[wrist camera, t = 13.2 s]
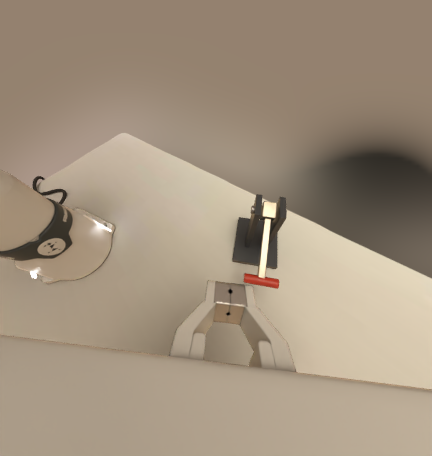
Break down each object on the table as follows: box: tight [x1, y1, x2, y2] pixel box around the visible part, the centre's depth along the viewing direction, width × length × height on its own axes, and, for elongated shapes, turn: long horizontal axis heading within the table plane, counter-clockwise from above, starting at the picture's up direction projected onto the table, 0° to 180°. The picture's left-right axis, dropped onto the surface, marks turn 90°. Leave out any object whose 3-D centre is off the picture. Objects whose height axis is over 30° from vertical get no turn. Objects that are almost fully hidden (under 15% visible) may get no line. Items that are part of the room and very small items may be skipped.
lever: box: [244, 201, 279, 289], centre depth 27 cm, size 14×5×2 cm, turn 169°
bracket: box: [233, 195, 287, 269], centre depth 33 cm, size 12×10×15 cm
